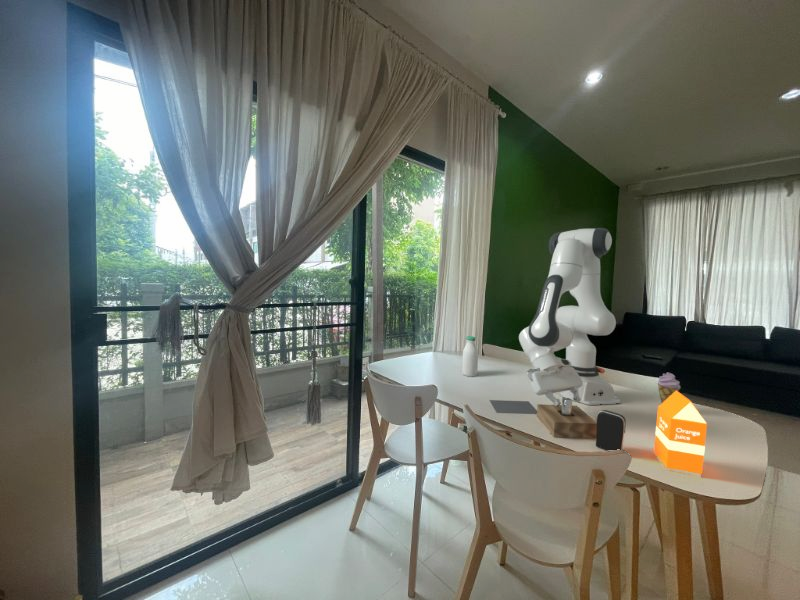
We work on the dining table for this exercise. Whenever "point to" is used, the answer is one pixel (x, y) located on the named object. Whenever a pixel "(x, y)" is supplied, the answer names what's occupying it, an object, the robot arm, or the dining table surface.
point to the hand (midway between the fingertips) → (568, 403)
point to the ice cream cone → (667, 386)
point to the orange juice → (680, 434)
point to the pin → (566, 407)
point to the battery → (610, 430)
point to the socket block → (567, 422)
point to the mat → (513, 407)
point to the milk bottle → (470, 358)
